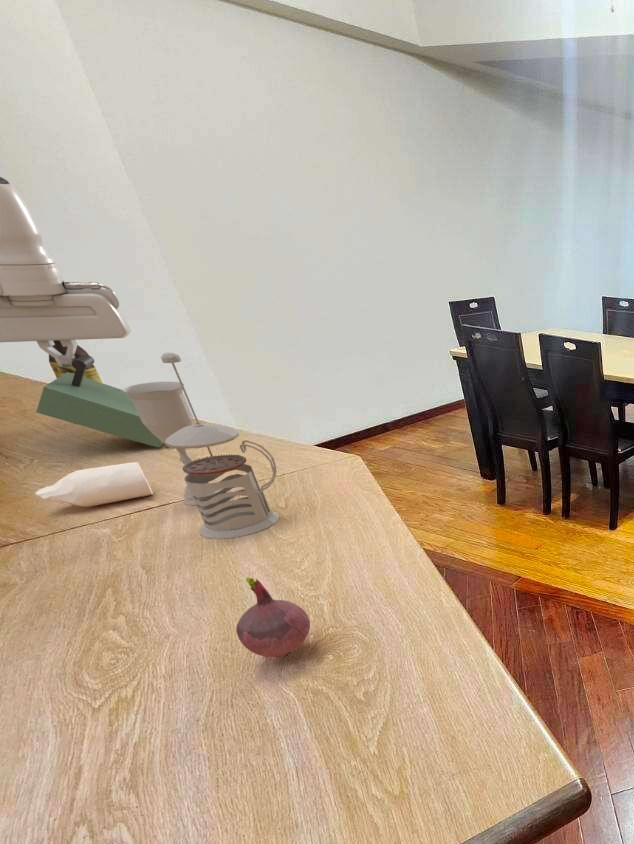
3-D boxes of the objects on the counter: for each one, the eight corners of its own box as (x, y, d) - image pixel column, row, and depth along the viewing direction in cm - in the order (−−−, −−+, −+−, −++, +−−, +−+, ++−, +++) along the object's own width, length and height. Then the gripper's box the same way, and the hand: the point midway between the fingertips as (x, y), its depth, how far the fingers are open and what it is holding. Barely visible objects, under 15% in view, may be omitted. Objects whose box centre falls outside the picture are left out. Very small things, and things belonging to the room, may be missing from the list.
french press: (206, 515, 91) (131, 347, 78) (297, 503, 95) (239, 343, 83) (190, 543, 83) (104, 362, 71) (289, 529, 88) (224, 357, 76)
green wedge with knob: (35, 412, 102) (52, 357, 101) (59, 395, 111) (75, 345, 109) (159, 448, 113) (176, 399, 111) (172, 430, 122) (188, 384, 120)
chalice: (173, 496, 96) (120, 385, 87) (225, 486, 100) (180, 379, 91) (178, 511, 91) (124, 396, 82) (233, 500, 96) (186, 389, 87)
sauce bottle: (69, 418, 126) (17, 320, 116) (102, 410, 131) (55, 316, 122) (92, 421, 125) (41, 322, 115) (125, 413, 130) (79, 318, 120)
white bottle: (47, 507, 91) (27, 473, 88) (150, 487, 98) (135, 456, 96) (47, 520, 87) (26, 485, 84) (155, 499, 95) (139, 466, 92)
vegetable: (308, 631, 67) (277, 556, 62) (329, 654, 64) (299, 577, 59) (244, 656, 63) (206, 578, 58) (263, 683, 60) (225, 602, 55)
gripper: (115, 280, 106) (149, 358, 113) (-52, 280, 97) (-4, 366, 104) (104, 283, 102) (141, 365, 109) (-72, 284, 92) (-20, 374, 99)
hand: (69, 366), depth 106 cm, fingers closed
